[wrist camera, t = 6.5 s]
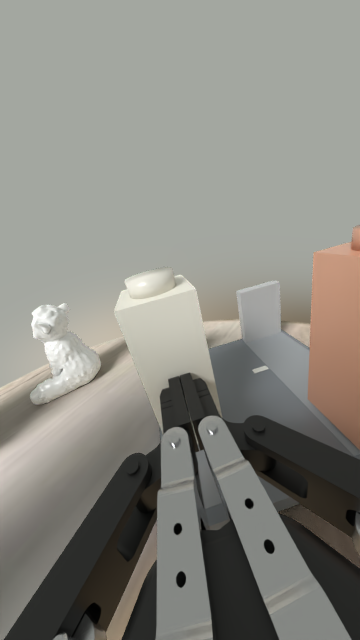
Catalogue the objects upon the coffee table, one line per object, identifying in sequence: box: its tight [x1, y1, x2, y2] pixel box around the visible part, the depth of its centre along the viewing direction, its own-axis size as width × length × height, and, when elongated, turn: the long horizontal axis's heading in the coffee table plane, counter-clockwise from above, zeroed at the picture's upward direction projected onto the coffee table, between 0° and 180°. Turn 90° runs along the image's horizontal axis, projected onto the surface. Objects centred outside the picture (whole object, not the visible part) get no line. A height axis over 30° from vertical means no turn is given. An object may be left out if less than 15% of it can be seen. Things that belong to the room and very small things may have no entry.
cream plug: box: [114, 267, 222, 444], centre depth 15 cm, size 4×4×13 cm
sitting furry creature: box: [30, 303, 101, 405], centre depth 28 cm, size 10×9×12 cm
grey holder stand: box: [159, 280, 360, 530], centre depth 19 cm, size 18×17×8 cm
